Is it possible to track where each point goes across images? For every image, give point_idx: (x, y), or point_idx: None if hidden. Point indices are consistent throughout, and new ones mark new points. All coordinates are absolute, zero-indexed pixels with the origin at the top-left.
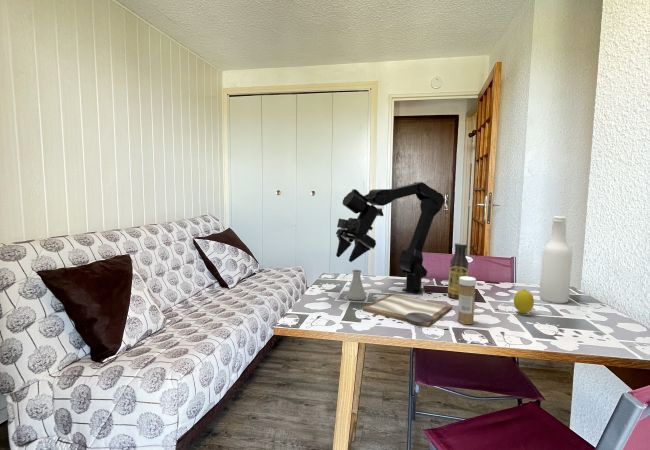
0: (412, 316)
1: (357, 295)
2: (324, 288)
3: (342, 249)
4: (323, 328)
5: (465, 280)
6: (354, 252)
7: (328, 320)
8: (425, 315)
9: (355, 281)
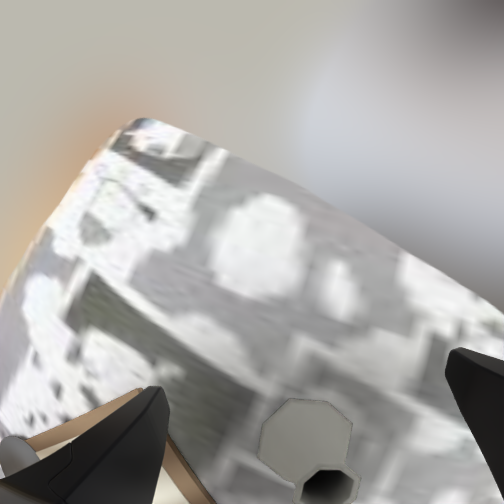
0: (27, 461)
1: (267, 437)
2: (468, 340)
3: (499, 428)
4: (74, 202)
5: None
6: (74, 449)
7: (109, 231)
8: None
9: (297, 454)
